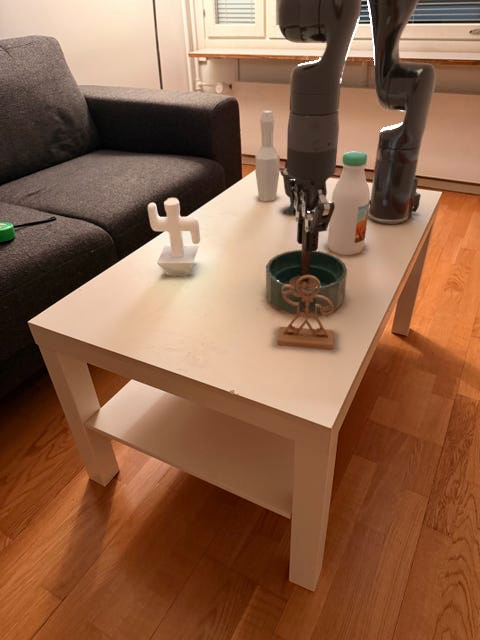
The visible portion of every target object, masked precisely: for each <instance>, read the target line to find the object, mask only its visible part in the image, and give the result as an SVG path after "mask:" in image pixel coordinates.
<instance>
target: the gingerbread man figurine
mask: <svg viewBox="0 0 480 640" xmlns="http://www.w3.org/2000/svg"><path fill="white" fill-rule="evenodd" d="M306 278H310V279H313V280H315V281H316V282H317V283H318V285H315V283H314V282H311V283H310V284H307V283H306V282H302V284H299V282H300V281H301V280H303V279H306ZM298 286H302V287H301V291H302V292H301V291H300V290H299V288H298ZM306 287H310V288H314V287H319V288H318V290H317V291H316V292H315V288H314V289H312V290H310V291H307V290H305V289H303V288H306ZM284 288H290V289H291V290H290V289H289V291H287V290H286V292H285V291H283V289H284ZM296 290H297V292H298V293H299V294H298V293H295V291H294V287H293V286H292V285H290V284H285V285H284V286H283V287H282V290H281V294H282V297H283V299H284V300H285V301H286V302H287V303H289V304H291V305H294V306H297V315H295V316H294V317H293V318H292V320H291V321H290V322H289V324H288V325H287V326H279V328H278V333H277V338H276V345H277V346H285V347H296V348H309V349H310V348H311V349H322V350H333V349H334V335H335V333H334V331H333V330H331V329H326V328H325V327H324V325H323V324H322V322H321V320H320V319H319V317H318V315H316V313H317V307H318V308H320V310H321V314H320V315H322V316H323V317H330V316H332V315H333V314H334V310H333V304H332V302H331V301H330V300H329V299H328V298H327V297H325V296H322V295H317V294H318V293H319V291H320V281H319V280H318V278H316V277H315V276H313V275H304V276H302V277H300V278H299V279H298V281H297V283H296ZM313 292H314V293H313ZM292 293H293V295H294V296H296V297H302V302H304V301H306V302H305V306H306V308H305V313H304V312H302V313H301V312H299V303H297V302H293V301H290V300H289V299H288V298H286V294H287V295H289V294H292ZM305 294H307V296H305ZM309 294H311V295H310V296H309ZM308 296H309V297H308ZM313 298H320V299H323V300H325V301H327V302H328V303H329V304H330V305H329V307H328V306H326V307H323V308H322V306H321V305H320V304H316V305H315V313H309V308H308V306H309V301H310V302H313ZM326 310H328V311H329V310H331V311H330V312H328V313H325V312H323V311H326ZM299 317H303V318H304V317H305V318H306V319H305V320H304V321H303V322H302V323H301V325H300V326H299V327H296V326H295V325H294V326H293V324H294V323H295V322H296V320H297V319H298V318H299ZM307 318H314V319H315V321H316V322H317V324H318V326H319V327H317V328H313V326H312V325H311V323H310V322H309V320H308V319H307ZM305 325H307V328H305Z"/></svg>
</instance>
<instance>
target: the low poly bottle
mask: <svg viewBox="0 0 480 640" xmlns="http://www.w3.org/2000/svg"><path fill="white" fill-rule="evenodd" d="M259 122H260V131H261V146H260V148H259V150H258V151H257V153H256V154H255V155H254V163H255V167H254V169H255V177H256V178H255V179H256V180H255V181H256V186H257V194H258V199H259V200H260V201H262V202H273V201H275V200H277V194H278V186H279V178H280V164H281V163H280V157H281V155H280V154H279V153H278V151H277V150H276V148H275V147H274V129H275V127H274V126H275V117H274V115H273V111H272V110H262V112H261V116H260V121H259Z"/></svg>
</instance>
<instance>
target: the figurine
mask: <svg viewBox="0 0 480 640" xmlns="http://www.w3.org/2000/svg"><path fill="white" fill-rule="evenodd" d="M163 206H164V211H165V213H166V216H160V215H159V213H158V208H157V204H156V203H155V202H150V203H148V205H147V214H148V218H149V224H150V225H149V226H150V228H151V230H152V231H154V232H168V236H169V242H170V245H164V246H163V248H162V250H161V252H160V255H159V258H158V260H157V262H156V263H157V265H158V266H159V268H161V269H162V270H163V272H165V274H166V276H190V274H191V271H192V268H193V266H194V262H195V260H196V257H197V253H198V249H199V244H200V242H201V233H200V232H201V231H200V224H199V221H198V220H199V219H198V218H197V217H195V216H181V214H180V213H181V212H180V211H181V206H180V201H179V199H178V198H177V197H168V198H167V199H166V200H165V201H164V202H163ZM183 232H189V233H190V235H191V242H192V244H193V245H185V244H184V237H183Z"/></svg>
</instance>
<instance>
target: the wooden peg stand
mask: <svg viewBox="0 0 480 640" xmlns="http://www.w3.org/2000/svg"><path fill="white" fill-rule="evenodd" d="M310 222H312V219H311V220H310ZM304 240H305V219H304V221H303V230H302V244H301V250H302V253H301V275H298V276H295V277H293V278H291V279H290V281H289V284H290V285H292V286H295V287H296V283H297V281H298V279H299V278H300V277H302V276H304V275H310V258H311V252H306V251H305V249H304ZM302 282H306V283H307V284H310V283H311V282H314V283H315V285H318V283H317V282H316V281H315V280H313V279H310V278H306V279H303V280H301V281H300V282H299V284H302ZM298 287H302V286H298ZM306 288H310V287H306Z"/></svg>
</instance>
